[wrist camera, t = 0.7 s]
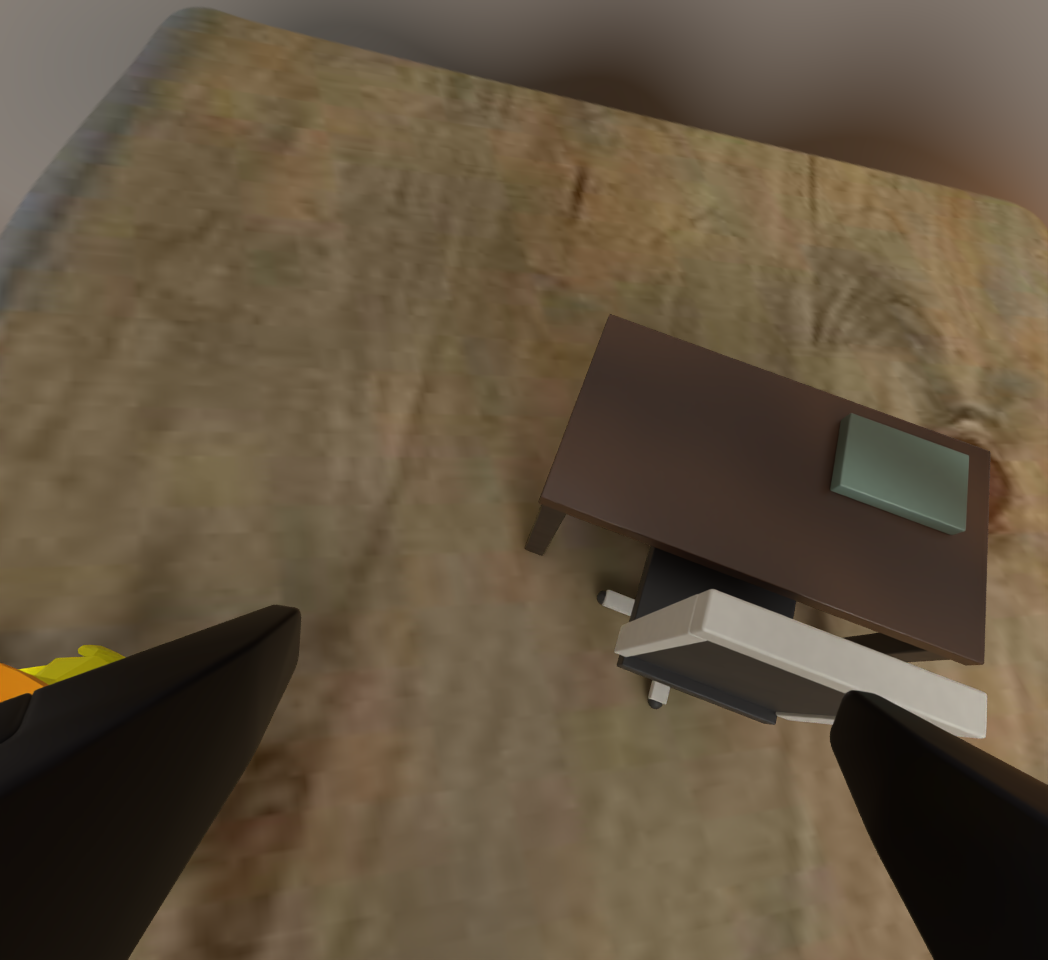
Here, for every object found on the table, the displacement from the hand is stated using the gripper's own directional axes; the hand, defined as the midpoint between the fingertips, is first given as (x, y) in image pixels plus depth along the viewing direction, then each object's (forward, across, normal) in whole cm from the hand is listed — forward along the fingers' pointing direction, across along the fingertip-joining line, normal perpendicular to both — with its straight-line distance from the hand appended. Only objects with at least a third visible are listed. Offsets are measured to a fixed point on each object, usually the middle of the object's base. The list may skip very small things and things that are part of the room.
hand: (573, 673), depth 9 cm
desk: (+17, -8, +2) cm, 19 cm away
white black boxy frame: (+14, -7, +6) cm, 17 cm away
